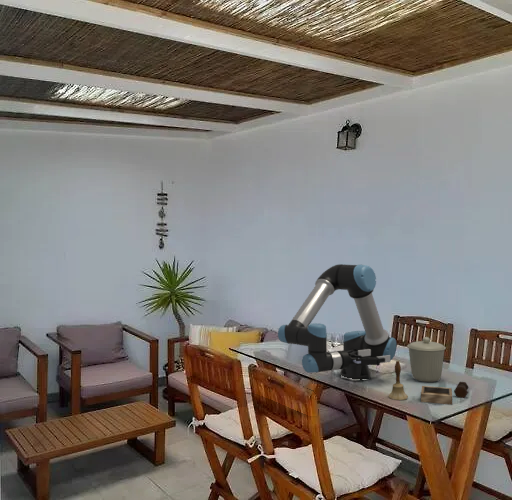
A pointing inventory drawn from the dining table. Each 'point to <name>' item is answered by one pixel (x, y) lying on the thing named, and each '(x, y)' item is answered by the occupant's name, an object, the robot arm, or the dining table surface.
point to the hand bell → (398, 386)
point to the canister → (426, 360)
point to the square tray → (436, 395)
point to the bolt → (461, 390)
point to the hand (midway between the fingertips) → (379, 355)
